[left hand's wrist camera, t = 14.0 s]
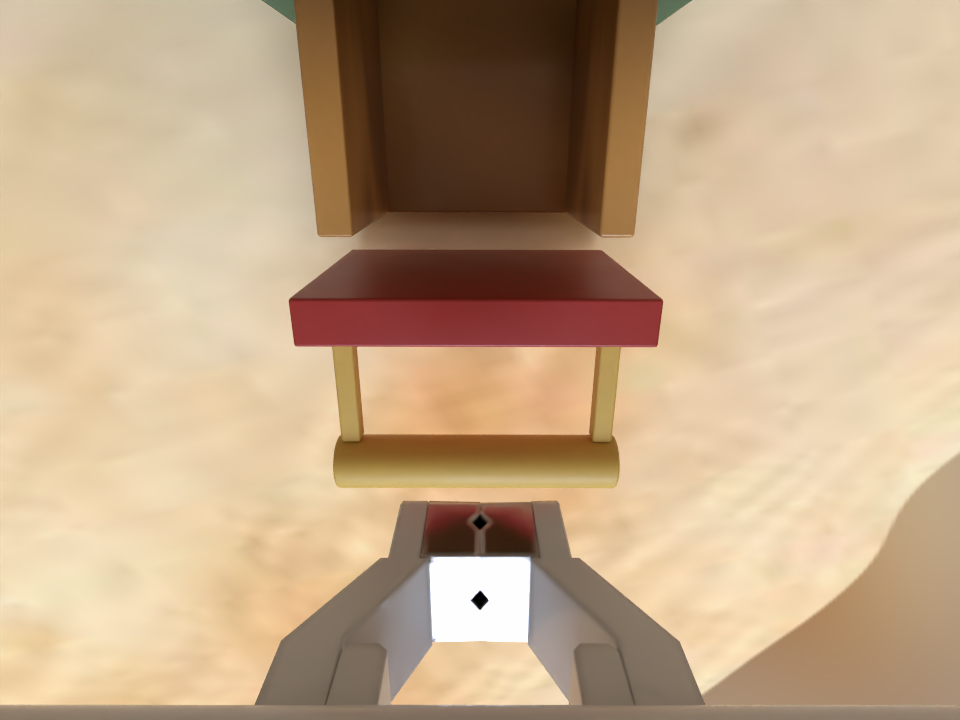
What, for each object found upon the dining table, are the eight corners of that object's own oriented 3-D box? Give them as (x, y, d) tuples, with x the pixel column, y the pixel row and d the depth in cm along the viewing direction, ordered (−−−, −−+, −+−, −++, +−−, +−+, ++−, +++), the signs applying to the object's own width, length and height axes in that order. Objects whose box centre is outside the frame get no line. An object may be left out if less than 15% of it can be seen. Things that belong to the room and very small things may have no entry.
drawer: (588, 426, 21) (634, 542, 15) (365, 426, 21) (317, 542, 15) (640, -198, 15) (764, -465, 8) (313, -199, 15) (185, -469, 8)
